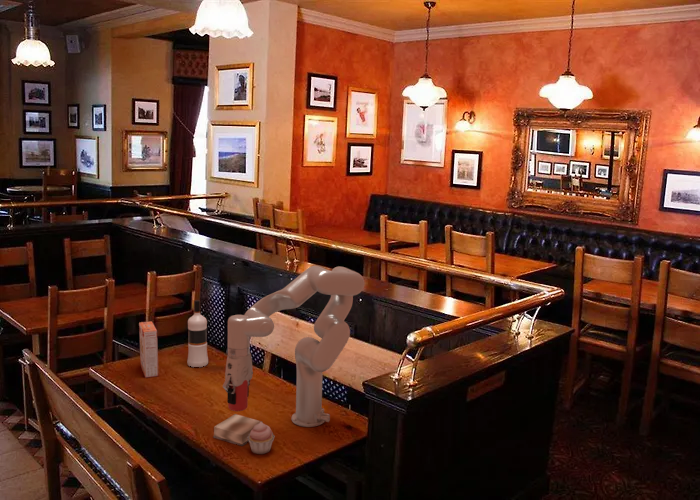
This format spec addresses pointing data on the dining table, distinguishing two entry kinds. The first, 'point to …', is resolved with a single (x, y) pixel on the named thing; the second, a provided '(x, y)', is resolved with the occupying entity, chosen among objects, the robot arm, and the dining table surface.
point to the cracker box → (148, 349)
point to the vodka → (197, 338)
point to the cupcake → (261, 438)
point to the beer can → (240, 397)
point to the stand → (235, 429)
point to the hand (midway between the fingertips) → (238, 399)
